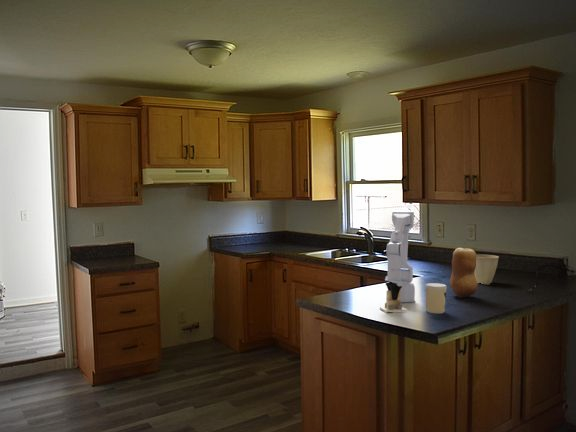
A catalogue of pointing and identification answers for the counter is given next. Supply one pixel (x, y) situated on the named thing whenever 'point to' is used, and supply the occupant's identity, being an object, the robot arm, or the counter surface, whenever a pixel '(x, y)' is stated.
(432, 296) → the coffee cup
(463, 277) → the butternut squash
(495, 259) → the plant pot
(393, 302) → the wooden block
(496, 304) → the counter surface
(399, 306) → the cream pegged base plate
